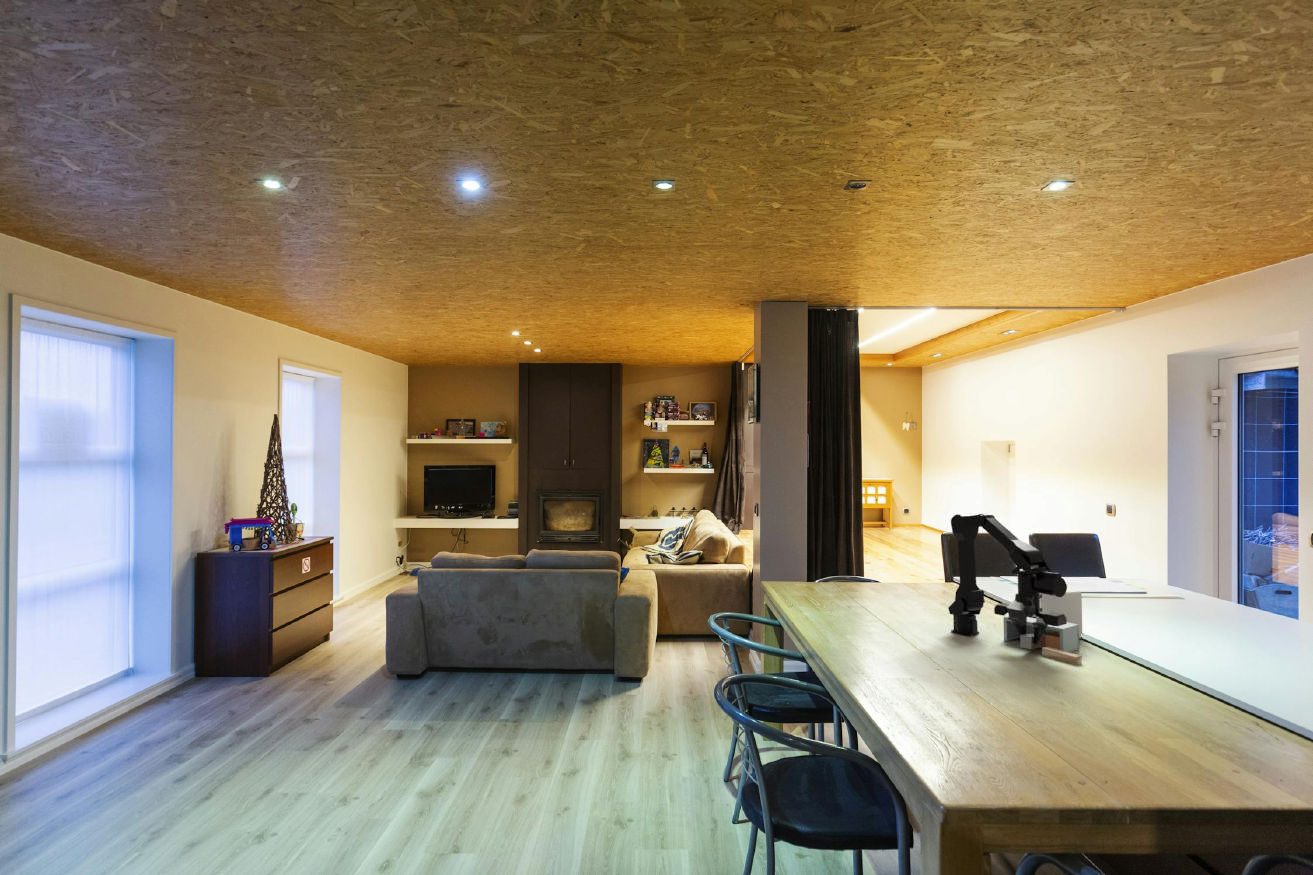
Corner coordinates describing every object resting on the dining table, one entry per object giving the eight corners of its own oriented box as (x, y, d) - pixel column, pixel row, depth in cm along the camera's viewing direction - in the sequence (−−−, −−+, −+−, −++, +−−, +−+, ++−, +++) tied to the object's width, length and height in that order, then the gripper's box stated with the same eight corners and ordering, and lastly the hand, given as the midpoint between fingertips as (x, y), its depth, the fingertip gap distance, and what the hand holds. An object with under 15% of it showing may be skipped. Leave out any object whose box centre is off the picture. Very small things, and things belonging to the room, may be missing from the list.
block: (1045, 649, 201) (1045, 634, 201) (1051, 646, 204) (1051, 632, 204) (1061, 652, 197) (1061, 637, 197) (1067, 650, 200) (1067, 635, 200)
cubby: (1003, 640, 211) (1003, 616, 211) (1020, 635, 216) (1019, 612, 216) (1063, 654, 196) (1062, 628, 196) (1079, 649, 201) (1078, 624, 201)
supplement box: (1083, 638, 212) (1082, 592, 213) (1055, 638, 212) (1054, 592, 213) (1066, 631, 221) (1065, 586, 222) (1039, 631, 221) (1039, 586, 222)
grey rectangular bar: (1038, 650, 192) (1038, 638, 193) (1013, 645, 198) (1013, 633, 198) (1060, 646, 203) (1060, 635, 204) (1035, 642, 209) (1036, 630, 209)
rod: (1076, 665, 186) (1076, 656, 186) (1042, 656, 195) (1042, 647, 195) (1081, 664, 187) (1081, 655, 187) (1047, 654, 196) (1047, 646, 196)
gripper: (983, 588, 201) (984, 639, 200) (1047, 599, 185) (1048, 655, 185) (1003, 584, 207) (1004, 634, 207) (1067, 594, 191) (1068, 648, 191)
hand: (1029, 643), depth 197 cm, fingers closed on grey rectangular bar, 3 cm apart
